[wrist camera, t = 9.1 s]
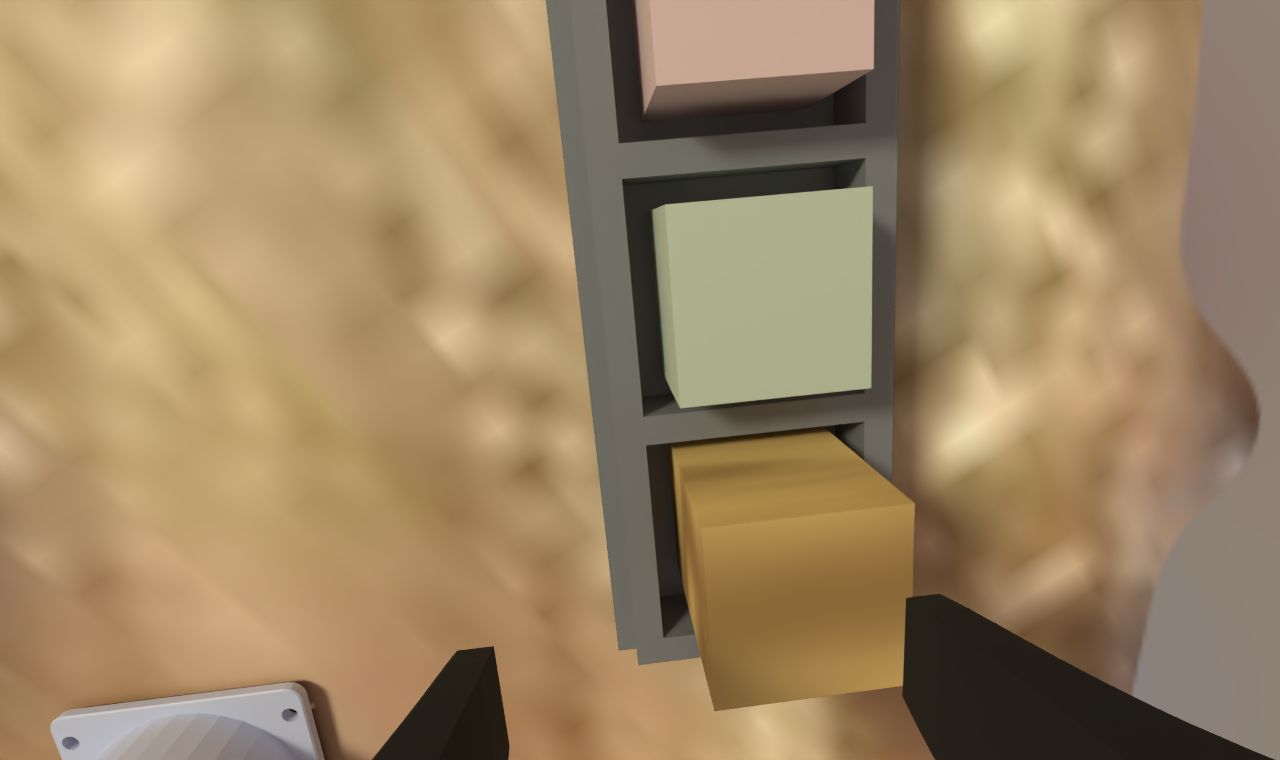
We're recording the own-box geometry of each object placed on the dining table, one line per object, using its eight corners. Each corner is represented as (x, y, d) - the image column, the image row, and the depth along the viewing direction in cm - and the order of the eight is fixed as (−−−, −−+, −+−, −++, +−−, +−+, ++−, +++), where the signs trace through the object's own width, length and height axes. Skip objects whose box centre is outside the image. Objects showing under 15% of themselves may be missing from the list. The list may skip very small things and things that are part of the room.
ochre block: (814, 548, 19) (910, 684, 13) (678, 565, 19) (714, 711, 13) (812, 417, 18) (914, 503, 12) (666, 433, 18) (701, 528, 12)
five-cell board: (864, 600, 21) (945, 709, 16) (617, 631, 21) (624, 752, 16) (873, -980, 12) (1059, -1793, 7) (436, -987, 12) (325, -1857, 7)
